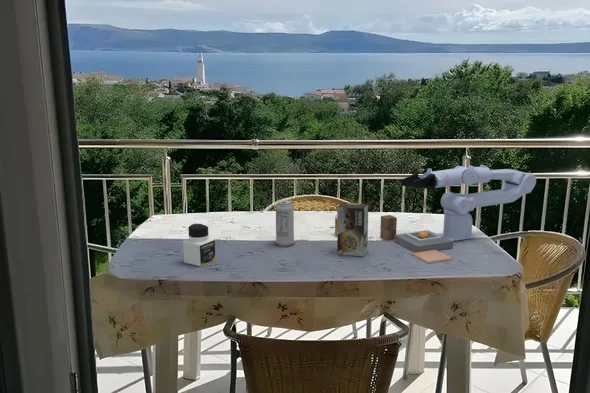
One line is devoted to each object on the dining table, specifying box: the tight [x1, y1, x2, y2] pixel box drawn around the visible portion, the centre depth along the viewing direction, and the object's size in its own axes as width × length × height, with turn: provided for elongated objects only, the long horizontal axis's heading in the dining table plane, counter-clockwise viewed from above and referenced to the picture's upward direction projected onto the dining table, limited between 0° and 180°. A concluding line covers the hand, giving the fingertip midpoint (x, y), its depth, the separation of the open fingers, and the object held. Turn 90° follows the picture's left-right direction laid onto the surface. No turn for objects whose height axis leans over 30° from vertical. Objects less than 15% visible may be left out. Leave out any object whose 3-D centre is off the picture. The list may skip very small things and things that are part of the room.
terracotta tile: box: [411, 250, 453, 264], centre depth 181 cm, size 9×9×1 cm
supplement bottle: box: [334, 214, 337, 237], centre depth 205 cm, size 5×5×10 cm
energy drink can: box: [275, 199, 295, 248], centre depth 194 cm, size 6×6×15 cm
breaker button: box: [418, 230, 428, 239], centre depth 193 cm, size 3×3×2 cm
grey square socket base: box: [393, 229, 454, 253], centre depth 194 cm, size 14×14×4 cm
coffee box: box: [336, 202, 369, 257], centre depth 184 cm, size 9×6×16 cm
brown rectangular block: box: [379, 214, 398, 242], centre depth 201 cm, size 4×4×8 cm
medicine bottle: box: [182, 222, 216, 267], centre depth 177 cm, size 7×7×12 cm
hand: (407, 183), depth 191 cm, fingers open, 7 cm apart
